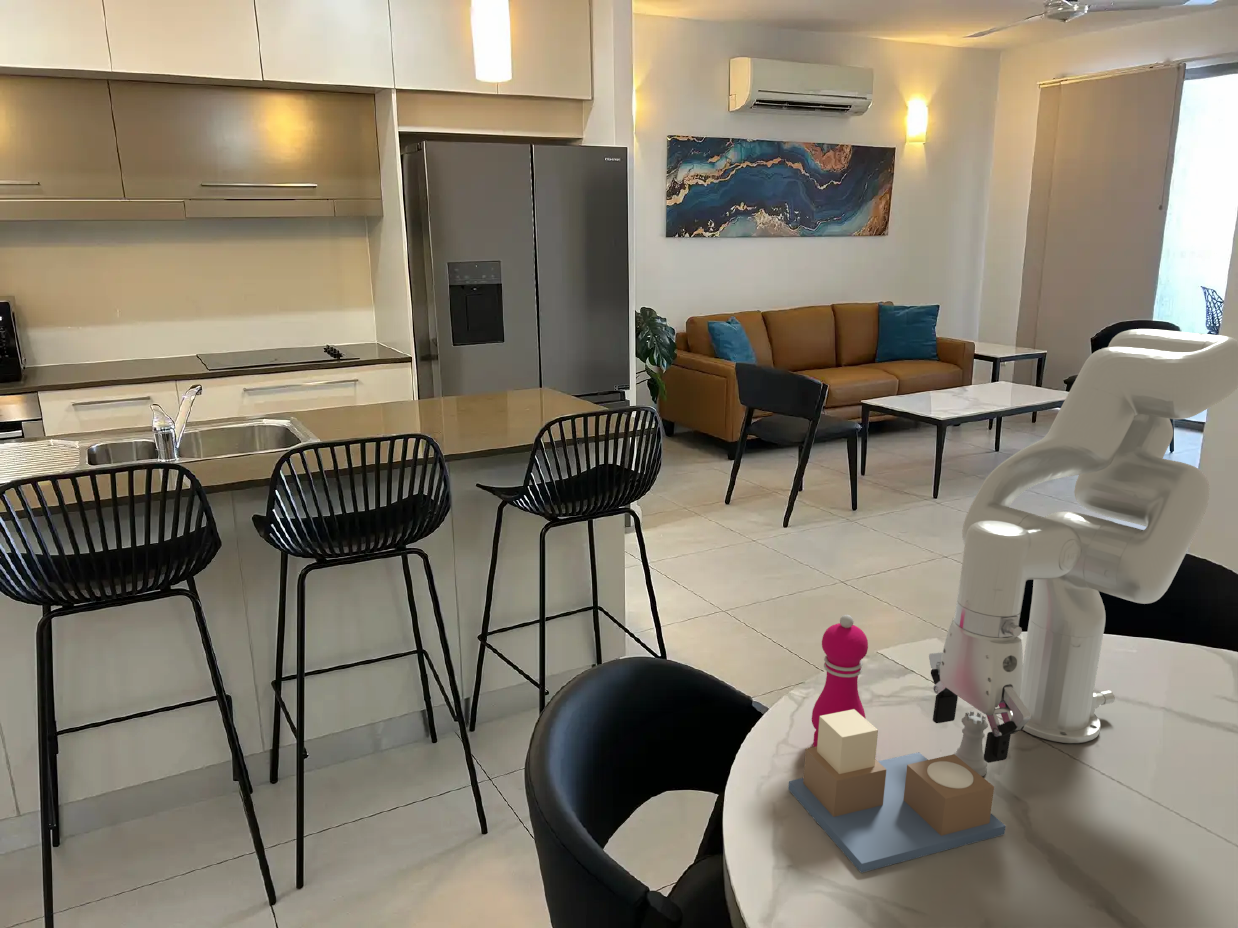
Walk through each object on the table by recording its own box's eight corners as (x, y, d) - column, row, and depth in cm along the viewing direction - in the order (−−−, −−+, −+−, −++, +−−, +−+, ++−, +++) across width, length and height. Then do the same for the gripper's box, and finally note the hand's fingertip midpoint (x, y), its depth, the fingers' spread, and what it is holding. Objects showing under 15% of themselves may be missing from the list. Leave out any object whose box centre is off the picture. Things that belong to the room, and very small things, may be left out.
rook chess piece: (989, 781, 115) (997, 727, 113) (953, 777, 116) (960, 723, 114) (983, 762, 119) (990, 709, 117) (948, 757, 120) (954, 705, 118)
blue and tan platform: (918, 759, 119) (926, 685, 116) (1004, 834, 105) (1016, 751, 102) (788, 788, 113) (793, 711, 110) (860, 872, 98) (869, 785, 95)
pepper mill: (830, 768, 117) (841, 631, 112) (799, 740, 124) (808, 609, 119) (874, 756, 120) (887, 621, 115) (841, 729, 127) (852, 600, 121)
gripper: (1063, 644, 105) (1041, 772, 109) (963, 590, 121) (947, 704, 125) (1013, 651, 102) (992, 781, 106) (918, 595, 118) (902, 711, 122)
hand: (968, 739), depth 116 cm, fingers open, 9 cm apart
